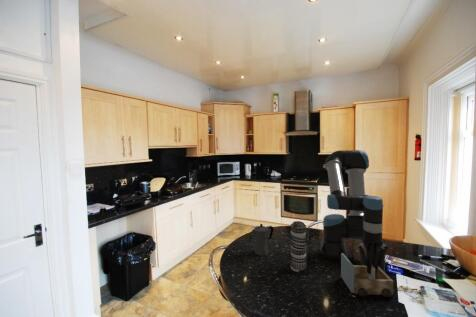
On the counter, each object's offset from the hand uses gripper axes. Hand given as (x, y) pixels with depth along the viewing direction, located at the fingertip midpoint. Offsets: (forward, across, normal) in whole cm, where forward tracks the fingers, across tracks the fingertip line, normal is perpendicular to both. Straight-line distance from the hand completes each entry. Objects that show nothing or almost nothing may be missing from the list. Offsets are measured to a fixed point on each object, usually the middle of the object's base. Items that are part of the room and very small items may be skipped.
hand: (371, 280), depth 102 cm
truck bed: (+3, +2, 0) cm, 4 cm away
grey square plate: (+3, +11, 0) cm, 11 cm away
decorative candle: (+4, +30, -15) cm, 34 cm away
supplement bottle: (+4, -10, -14) cm, 18 cm away
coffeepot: (+4, +48, -33) cm, 59 cm away
